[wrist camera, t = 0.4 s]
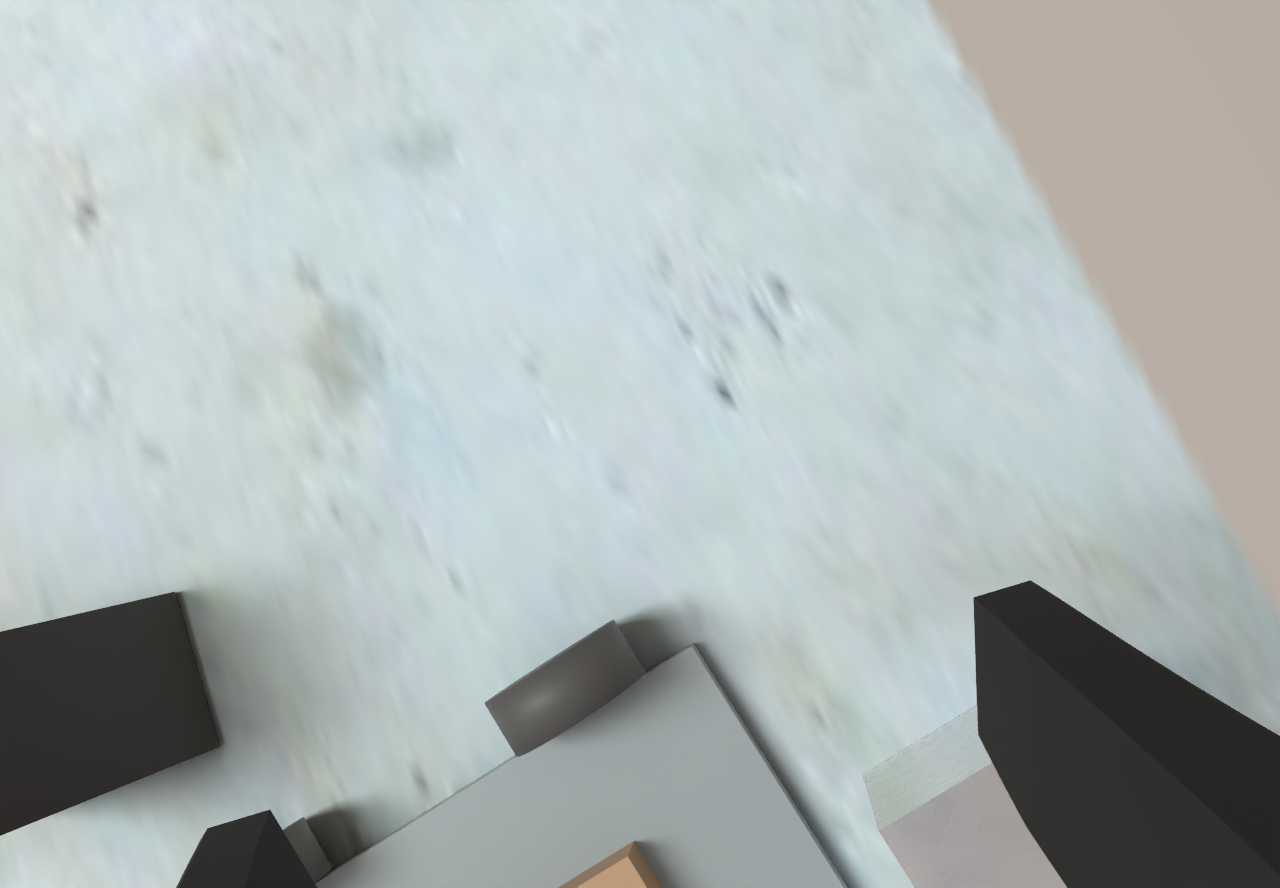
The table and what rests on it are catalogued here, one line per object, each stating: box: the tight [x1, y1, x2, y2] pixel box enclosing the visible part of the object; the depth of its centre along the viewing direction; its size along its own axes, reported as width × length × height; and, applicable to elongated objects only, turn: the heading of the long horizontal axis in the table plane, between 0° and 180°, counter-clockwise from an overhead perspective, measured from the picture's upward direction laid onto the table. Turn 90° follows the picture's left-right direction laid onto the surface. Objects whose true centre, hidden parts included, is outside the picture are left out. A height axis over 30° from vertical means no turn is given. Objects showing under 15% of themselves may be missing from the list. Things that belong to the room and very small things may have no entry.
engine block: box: [863, 705, 1067, 888], centre depth 32 cm, size 4×6×6 cm
